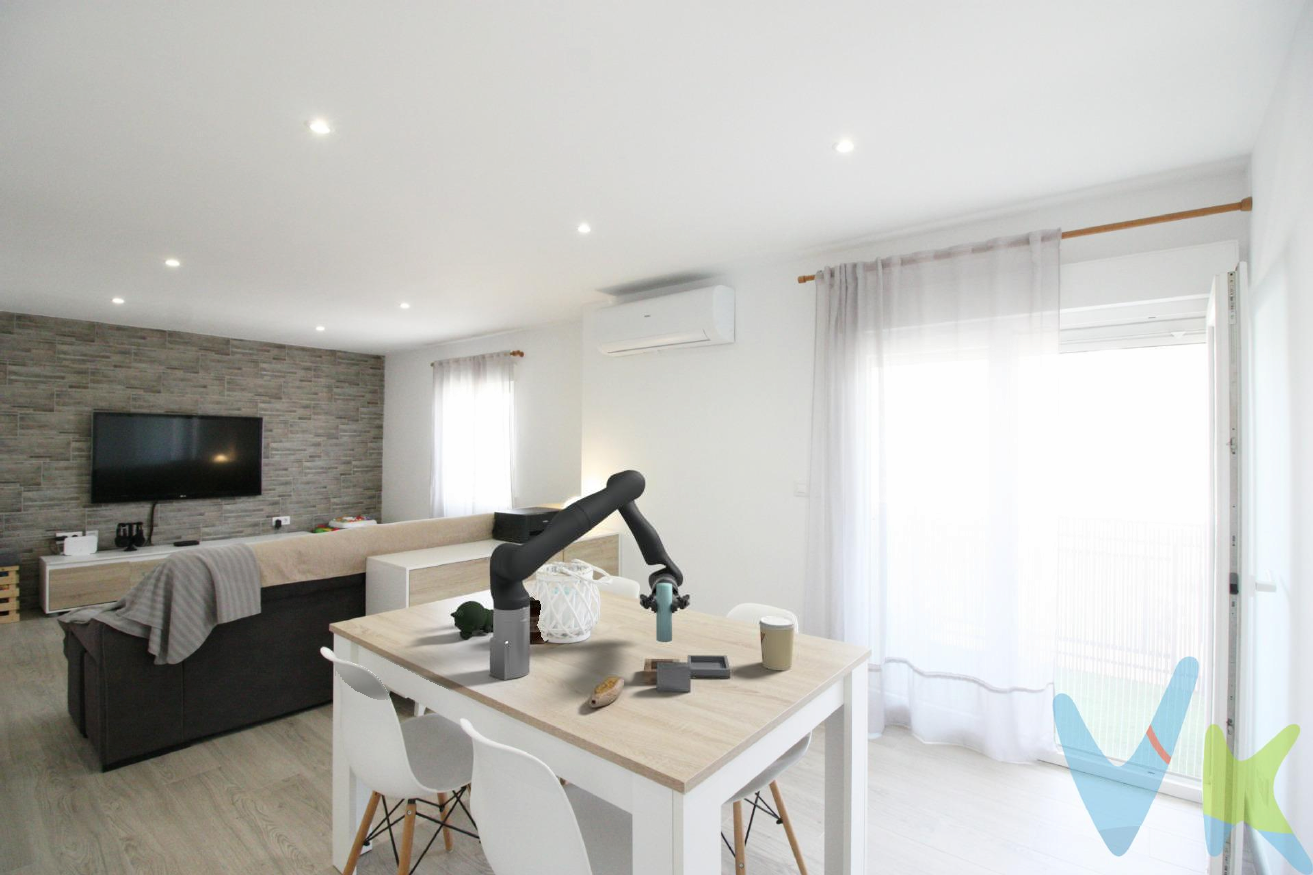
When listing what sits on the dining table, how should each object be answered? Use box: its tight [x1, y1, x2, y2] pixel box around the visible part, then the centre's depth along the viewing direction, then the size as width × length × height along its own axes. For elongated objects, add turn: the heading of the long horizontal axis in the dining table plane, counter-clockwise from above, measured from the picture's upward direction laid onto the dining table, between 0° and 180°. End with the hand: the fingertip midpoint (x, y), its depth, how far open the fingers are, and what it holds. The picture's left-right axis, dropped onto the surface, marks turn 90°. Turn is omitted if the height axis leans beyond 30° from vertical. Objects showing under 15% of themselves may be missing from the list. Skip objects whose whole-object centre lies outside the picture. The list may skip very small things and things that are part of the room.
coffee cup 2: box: [758, 615, 796, 671], centre depth 161 cm, size 9×9×12 cm
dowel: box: [655, 583, 673, 643], centre depth 153 cm, size 4×4×14 cm
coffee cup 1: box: [530, 596, 545, 644], centre depth 182 cm, size 9×8×13 cm
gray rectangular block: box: [656, 661, 692, 693], centre depth 145 cm, size 3×8×6 cm, turn 89°
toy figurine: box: [450, 600, 493, 640], centre depth 189 cm, size 9×19×25 cm
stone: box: [588, 676, 625, 709], centre depth 139 cm, size 5×14×4 cm, turn 156°
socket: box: [643, 658, 681, 685], centre depth 153 cm, size 9×9×3 cm
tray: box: [686, 654, 731, 679], centre depth 157 cm, size 11×11×2 cm
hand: (664, 608), depth 151 cm, fingers closed on dowel, 4 cm apart
